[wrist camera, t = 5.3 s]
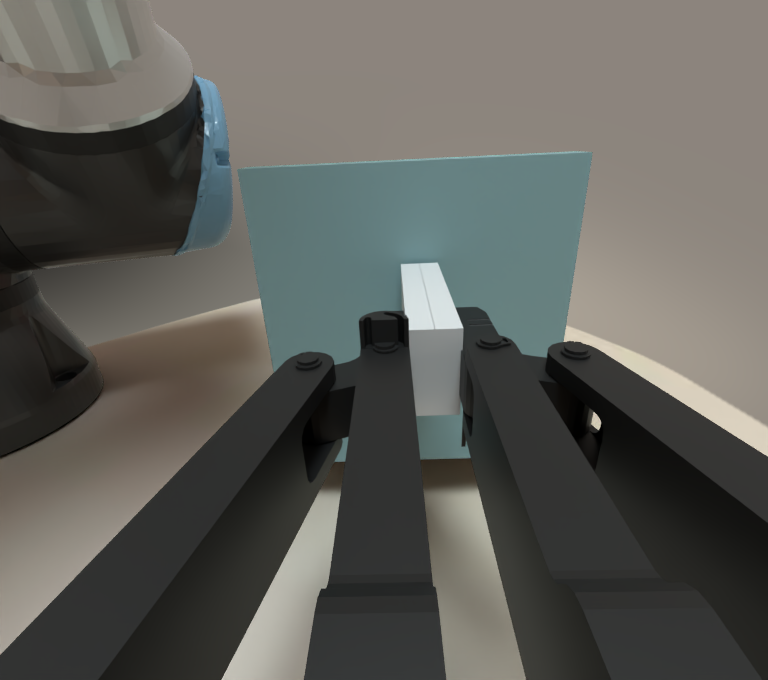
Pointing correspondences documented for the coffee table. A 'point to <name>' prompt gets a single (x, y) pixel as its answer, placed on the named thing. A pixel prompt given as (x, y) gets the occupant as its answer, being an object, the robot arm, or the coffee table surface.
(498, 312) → the teal l-shaped piece
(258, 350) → the coffee table surface
